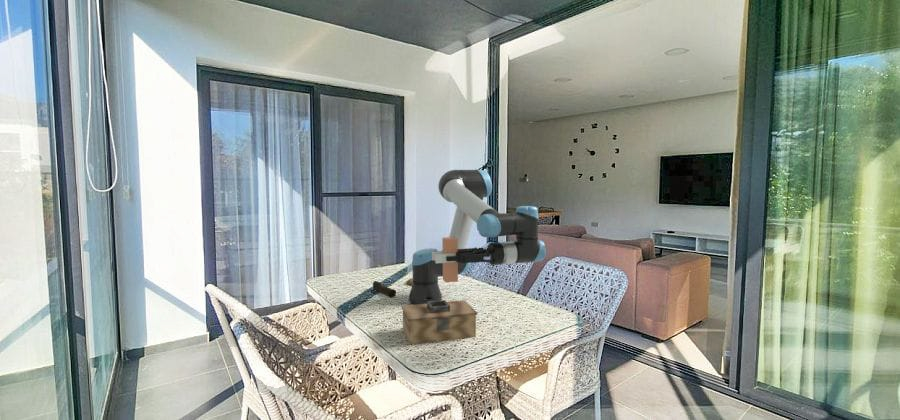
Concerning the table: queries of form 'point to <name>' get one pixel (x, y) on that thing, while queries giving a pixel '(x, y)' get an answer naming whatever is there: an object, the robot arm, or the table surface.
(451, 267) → the wooden peg
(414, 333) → the wooden socket base
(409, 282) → the cookie
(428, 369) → the table surface
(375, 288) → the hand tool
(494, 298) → the table surface
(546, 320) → the table surface
